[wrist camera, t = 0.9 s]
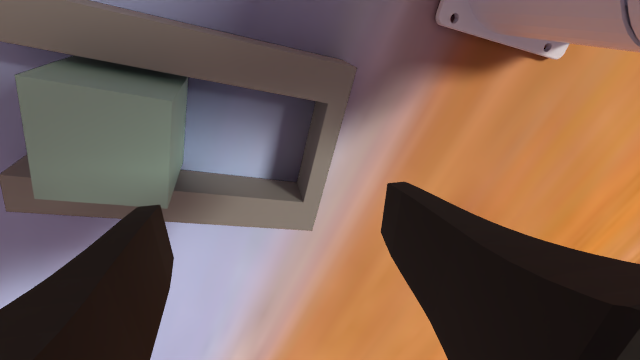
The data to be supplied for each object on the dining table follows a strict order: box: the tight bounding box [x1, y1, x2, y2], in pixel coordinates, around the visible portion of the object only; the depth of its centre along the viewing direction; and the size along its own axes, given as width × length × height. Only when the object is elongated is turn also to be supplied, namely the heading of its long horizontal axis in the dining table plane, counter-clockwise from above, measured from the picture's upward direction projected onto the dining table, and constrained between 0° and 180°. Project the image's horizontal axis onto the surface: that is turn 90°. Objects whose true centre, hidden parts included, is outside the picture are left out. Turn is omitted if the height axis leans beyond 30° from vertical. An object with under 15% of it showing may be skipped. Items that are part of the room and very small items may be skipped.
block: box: [15, 55, 188, 209], centre depth 15 cm, size 5×5×5 cm
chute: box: [0, 0, 357, 231], centre depth 17 cm, size 16×10×2 cm, turn 76°
